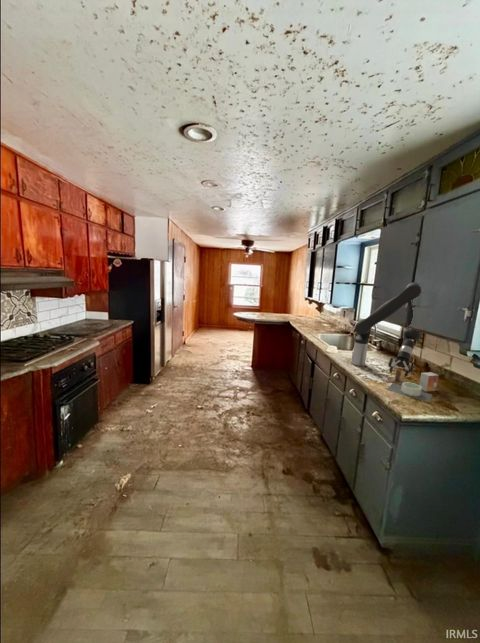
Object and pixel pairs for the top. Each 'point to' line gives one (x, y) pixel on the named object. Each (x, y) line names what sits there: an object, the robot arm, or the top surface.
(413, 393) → the bowl
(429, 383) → the small box
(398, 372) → the lid
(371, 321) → the robot arm
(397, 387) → the mat
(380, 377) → the top surface
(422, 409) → the top surface
